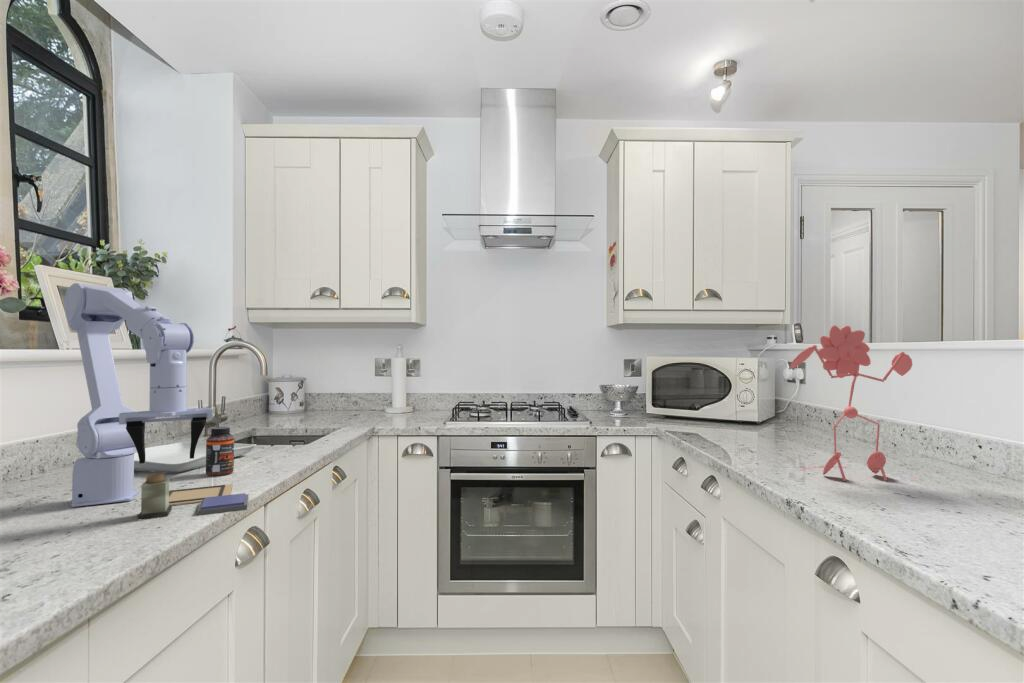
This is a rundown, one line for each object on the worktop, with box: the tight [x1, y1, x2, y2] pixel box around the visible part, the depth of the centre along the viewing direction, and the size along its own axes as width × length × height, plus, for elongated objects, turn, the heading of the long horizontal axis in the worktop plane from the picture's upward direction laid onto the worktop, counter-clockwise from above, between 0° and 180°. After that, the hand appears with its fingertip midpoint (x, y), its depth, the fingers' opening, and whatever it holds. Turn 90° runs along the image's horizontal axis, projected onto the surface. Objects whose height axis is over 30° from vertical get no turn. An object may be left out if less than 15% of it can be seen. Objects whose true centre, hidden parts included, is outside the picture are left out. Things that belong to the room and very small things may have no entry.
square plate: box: [134, 441, 257, 473], centre depth 138 cm, size 27×27×4 cm
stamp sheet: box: [169, 483, 234, 507], centre depth 105 cm, size 13×12×1 cm
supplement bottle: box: [205, 426, 235, 477], centre depth 125 cm, size 6×6×11 cm
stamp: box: [137, 472, 173, 520], centre depth 93 cm, size 4×4×7 cm
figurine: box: [788, 325, 916, 482], centre depth 121 cm, size 15×26×35 cm, turn 90°
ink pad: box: [196, 492, 249, 516], centre depth 98 cm, size 8×8×1 cm
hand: (167, 460), depth 96 cm, fingers open, 7 cm apart
